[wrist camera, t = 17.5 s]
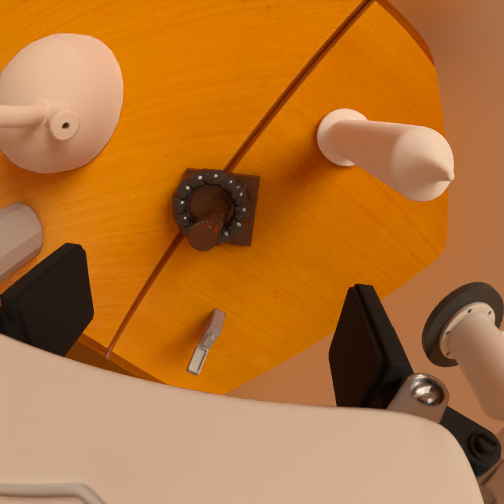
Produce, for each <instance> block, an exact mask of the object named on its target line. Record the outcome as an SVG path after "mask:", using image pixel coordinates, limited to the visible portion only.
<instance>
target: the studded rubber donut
mask: <svg viewBox="0 0 504 504" xmlns="http://www.w3.org/2000/svg"><path fill="white" fill-rule="evenodd" d="M204 186H215V187H219V188H221V189H222V190H223V191H225V192H226V193H228V194H229V196H230V198H231V200H232V202H233V205H234V210H233V217H232V219H231V220H230V221H229V223H228V224H227V225H226V226H225V227H223V228H222V231H221V233H220V235H219V237H218V240H217V242H216V244H215V247H217V246H221V245H223V244H226V243H228V242H231V241H234V240H236V239H237V238H238V236H239V235H240V234H241V233H242V231H243V230H244V229H245V228H246V226H247V225H248V223H249V217H250V209H251V201H250V199H249V197H248V194H247V192H246V190H245V188H244V185H243V184H242V183H241V182H240V181H239V180H237V179H236V178H235V177H233V176H232V175H230V174H229V173H228V172H226V171H224V170H215V169H205V168H204V169H201V170H199V171H196V172H194V173H192V174H190V175H188V176H186V177H184V178H183V180H182V181H181V183H180V184H179V186H178V187H177V189H176V190H175V192H174V193H173V198H172V216H173V218H174V220H175V222H176V224H177V226H178V228H179V230H180V232H181V233H182V234H184V235H185V236H187V237H188V234H189V231H190V229H191V228H192V226H193V225H194V222H193V220H192V218H191V216H190V214H189V212H188V202H189V198H190V197H191V195H192V194H193V193H194V191H195V190H197V189H199V188H201V187H204Z"/></svg>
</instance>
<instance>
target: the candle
mask: <svg viewBox="0 0 504 504" xmlns="http://www.w3.org/2000/svg"><path fill="white" fill-rule="evenodd" d="M317 142H318V146H319V148H320V150H321V152H322V153H323V155H324V156H325V157H326V158H327V159H328V160H330V161H331V162H333V163H334V164H337V165H340V166H354V165H357V166H359V167H361V168H362V169H364V170H365V171H367V172H368V173H370V174H371V175H373V176H375V177H376V178H378V179H379V180H381V181H382V182H384V183H385V184H387V185H388V186H390V187H391V188H393V189H394V190H395V191H397V192H398V193H400V194H401V195H403V196H404V197H406V198H408V199H410V200H413V201H419V202H424V201H429V200H432V199H434V198H436V197H438V196H439V195H440V194H442V193H443V192H444V190H445V189H446V188H447V186H448V185H449V183H450V181H452V180H453V179H454V173H453V169H454V160H453V155H452V151H451V148H450V146H449V144H448V143H447V141H446V140H445V139H444V137H443V136H442V135H440V134H439V133H438V132H436V131H435V130H433V129H431V128H427V127H422V126H414V125H406V124H398V123H388V122H378V121H368V120H367V119H366V118H365V117H364V116H363V115H362V114H361V113H359V112H357V111H355V110H351V109H338V110H334V111H332V112H330V113H329V114H327V115H326V116H325V117H324V118H323V119H322V121H321V122H320V124H319V127H318V130H317Z"/></svg>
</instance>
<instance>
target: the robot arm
mask: <svg viewBox="0 0 504 504" xmlns="http://www.w3.org/2000/svg"><path fill="white" fill-rule="evenodd" d="M0 299H1V303H2V306H1V307H0V504H504V428H503V429H502V430H501V431H500V432H499V433H497V434H496V435H494V434H493V433H492V432H490V431H489V430H487V429H486V428H484V427H482V426H480V425H479V424H477V423H475V422H474V421H472V420H470V419H468V418H467V417H465V416H463V415H462V414H460V413H458V412H457V411H455V410H453V409H452V408H450V407H448V406H447V404H448V401H449V393H448V390H447V388H446V386H445V385H444V384H443V383H442V382H441V381H440V380H439V379H437V378H436V377H434V376H432V375H429V374H425V373H415V374H414V372H413V370H412V367H411V365H410V363H409V361H408V358H407V356H406V354H405V352H404V349H403V347H402V345H401V343H400V340H399V339H398V337H397V334H396V332H395V330H394V328H393V326H392V324H391V322H390V320H389V318H388V316H387V314H386V312H385V310H384V308H383V306H382V304H381V302H380V300H379V298H378V296H377V294H376V292H375V290H374V288H373V286H372V285H364V284H355V286H354V287H350V288H349V289H348V292H347V295H346V299H345V302H344V305H343V308H342V312H341V315H340V318H339V321H338V324H337V328H336V331H335V334H334V337H333V340H332V343H331V346H330V349H329V362H330V368H331V374H332V380H333V386H334V391H335V397H336V404H337V406H325V405H308V404H295V403H294V404H293V403H283V402H273V401H264V400H255V399H247V398H240V397H233V396H226V395H220V394H213V393H207V392H202V391H196V390H191V389H185V388H180V387H175V386H170V385H165V384H161V383H156V382H152V381H148V380H143V379H139V378H135V377H131V376H127V375H123V374H119V373H115V372H111V371H108V370H105V369H101V368H97V367H94V366H91V365H87V364H84V363H81V362H78V361H74V360H71V359H68V358H65V355H66V354H67V352H68V351H69V350H70V348H71V347H72V346H73V344H74V343H75V342H76V340H77V339H78V338H79V336H80V335H81V334H82V332H83V331H84V330H85V328H86V327H87V326H88V324H89V323H90V322H91V320H92V319H93V315H94V309H93V303H92V296H91V290H90V283H89V275H88V267H87V259H86V252H85V250H84V249H83V248H82V246H81V245H78V244H72V243H65V244H64V245H62V246H61V247H60V248H58V249H57V250H56V251H54V252H53V253H52V254H50V255H49V256H48V257H46V258H45V259H44V260H43V261H41V262H40V263H39V264H37V265H36V266H35V267H34V268H32V269H31V270H30V271H29V272H27V273H26V274H25V275H24V276H22V277H21V278H20V279H19V280H18V281H16V282H15V283H14V284H13V285H12V286H10V287H9V288H8V289H7V290H6V291H5V292H3V293H2V294H1V295H0ZM494 323H495V314H494V311H493V310H492V308H491V307H490V306H489V305H488V304H486V303H484V302H474V303H471V304H468V305H466V306H464V307H463V308H461V309H460V310H458V311H457V312H456V313H455V314H454V315H453V316H452V317H451V318H450V319H449V320H448V322H447V323H446V324H445V326H444V328H443V330H442V332H441V335H440V338H439V347H440V350H441V352H442V353H443V355H444V356H445V357H447V358H449V359H456V361H457V363H458V365H459V366H460V368H461V370H462V372H463V374H464V375H465V377H466V379H467V381H468V382H469V384H470V386H471V388H472V390H473V392H474V394H475V396H476V398H477V399H478V401H479V403H480V405H481V407H482V409H483V411H484V412H485V414H486V415H487V416H489V417H490V418H492V419H495V420H499V421H504V331H503V330H500V331H499V330H498V328H497V327H496V326H495V325H494Z"/></svg>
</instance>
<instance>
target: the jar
mask: <svg viewBox="0 0 504 504" xmlns="http://www.w3.org/2000/svg"><path fill="white" fill-rule="evenodd" d="M42 245H43V227H42V225H41V222H40V220H39V217H38V215H37V214H36V213H35V212H34V211H33V210H32V209H31V208H30V207H29V206H28V205H26V204H22V203H19V202H16V203H13V204H11V205H9V206H7V207H5V208H3V209H1V210H0V283H1V282H3V281H4V280H5V279H6V278H8V277H9V276H10V275H11V274H13V273H14V272H15V271H16V270H18V269H19V268H20V267H21V266H23V265H24V264H25V263H27V262H28V261H29V260H31V259H32V258H33V257H35V256H36V255H37V254H38V252H39V250H40V248H41V246H42Z"/></svg>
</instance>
